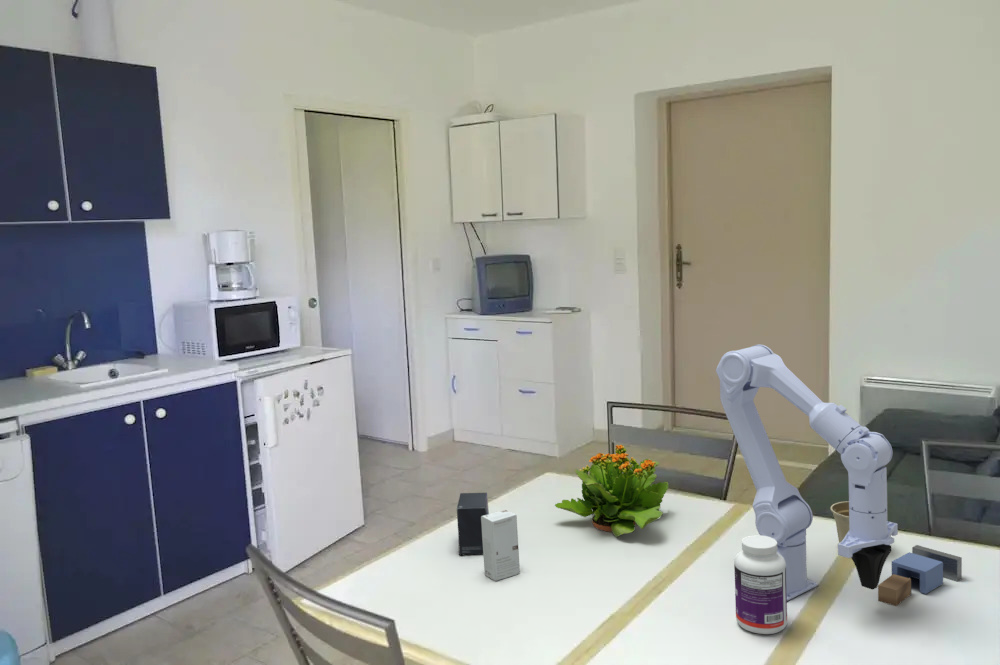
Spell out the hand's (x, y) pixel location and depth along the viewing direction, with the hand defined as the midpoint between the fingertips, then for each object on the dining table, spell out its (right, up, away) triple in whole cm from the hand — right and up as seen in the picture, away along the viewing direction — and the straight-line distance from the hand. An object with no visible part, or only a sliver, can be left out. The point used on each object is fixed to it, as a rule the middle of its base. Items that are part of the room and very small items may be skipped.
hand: (869, 586), depth 131 cm
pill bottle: (-18, -6, -1) cm, 19 cm away
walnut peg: (+7, -4, +5) cm, 9 cm away
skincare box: (-61, -6, +25) cm, 66 cm away
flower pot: (+9, -1, +25) cm, 27 cm away
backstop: (+18, -2, +13) cm, 23 cm away
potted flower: (-36, -1, +48) cm, 60 cm away
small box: (-67, -4, +41) cm, 78 cm away
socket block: (+13, -3, +9) cm, 16 cm away
